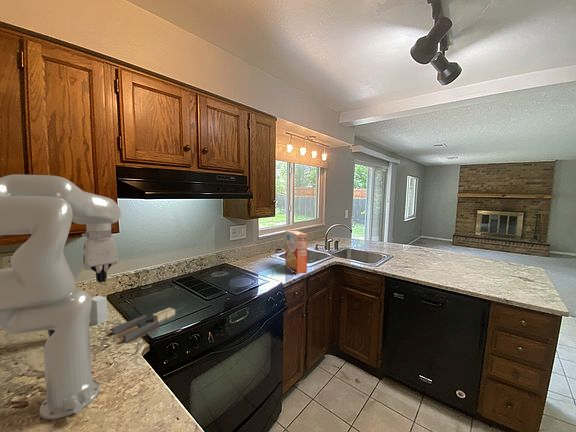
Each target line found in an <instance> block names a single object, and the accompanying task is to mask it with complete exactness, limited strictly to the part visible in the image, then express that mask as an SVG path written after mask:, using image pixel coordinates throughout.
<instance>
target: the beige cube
mask: <svg viewBox="0 0 576 432" xmlns="http://www.w3.org/2000/svg"><path fill="white" fill-rule="evenodd" d="M162 311H163V312H166V313H167V319H166V320H169V319H172V318H174V317H175V316H176V309H174V308H172V307H168V308H165V309H163V310H162Z"/></svg>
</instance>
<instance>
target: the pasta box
mask: <svg viewBox="0 0 576 432" xmlns="http://www.w3.org/2000/svg"><path fill="white" fill-rule="evenodd" d="M284 257H285V258H284V260H285V261H284V262H285V264H284V266H285V265H286V266H287V267H288V268H290V269H291V270H292V271H294V272H295V273H296V274H299V273H307V272H308V270H307V268H308V233H305V232H302V231H299V230H297V229H290V230H288V229H287V230H285V255H284ZM288 268H287V269H288ZM292 271H291V272H292ZM296 274H295V275H296ZM307 274H308V273H307Z"/></svg>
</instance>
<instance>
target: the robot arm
mask: <svg viewBox="0 0 576 432" xmlns="http://www.w3.org/2000/svg"><path fill="white" fill-rule="evenodd" d="M121 214H122V213H121V209H120V207H119V205H118V203H117V202H116V201H115V200H114V199H112V198H110V197H106V196H104V195H99V194H96V193H91V192H88V191H84V190H83V189H81V188H80V187H78V185H76V184H75V183H73V182H72V181H71V180H69V179H67V178H66V177H62V176H58V175H48V174H45V175H44V174H18V173H17V174H9V175H5V176H2V177H0V236H13V235H30V237H28V239H27V240H26V241H25V242H23V243H22V244H21V245H20V246H19V247H18V248H17V249H16V251H14V253H13V255H12V256H11V258H10V265H11V267H6V268H1V269H0V329H1V330H2V331H3V332H5V333H7V334H10V335H20V334H21V335H22V334H23V335H24V334H28V333H35V332H42V331H48V330H55V332H54V333H53V334H52V335H51V336H50V338H49V337H48V339H47V340H46V342H45V343H44V346H43V350H42V351H43V363H44V375H45V376H44V377H45V386H46V398H45V399H44V400H43V402H42V403H41V405H40V406H39V416H40V417H41V418H42V419H44V420H58V419H63V418H66V417H68V416H70V415H73V414H78V413H80V412H82V409H84V408H86V406H88V405H90V403H91V402H92V401H94V399H96V397H97V396H98V394H99V393H100V383H99V382H97V380H94V379H93V374H92V373H93V371H92V356H91V355H92V354H91V340H90V313H91V306H92V299H91V298H92V296H91V294H90V293H89V292H87V291H85V290H81V289H75V288H76V281H75V277H74V274H73V272H72V270H71V268H70V266H69V263H68V262H67V258H66V256H65V254H64V248H65V245H66V242H67V239H68V236H69V233H70V231H71V227H72V222H73V223H74V224H77V225H86V231H85V232H84V233H82V234H81V236H82V238H86V239H85V240H84V244H83V248H82V249H83V250H82V262H83V268H82V269H83V270H85V271H87V270H89V271H92V272H95V278H96V279H95V280H96V282H98V283H100V284H101V283H106V281H107V280H106V279H108V277H107V276H108V274H107V272H108V271H109V269H110V268H111V267H113V266H115V265H117V264H118V259H119V256H118V247H117V243H116V239H115V237H114V236H112V224H115V223H117V222H119V220H120V218H121ZM100 266H101V267H100Z"/></svg>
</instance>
